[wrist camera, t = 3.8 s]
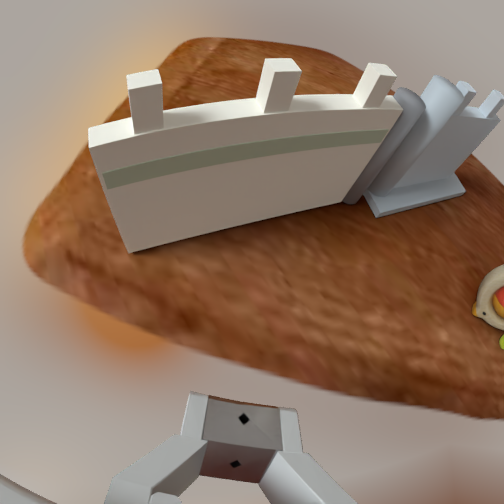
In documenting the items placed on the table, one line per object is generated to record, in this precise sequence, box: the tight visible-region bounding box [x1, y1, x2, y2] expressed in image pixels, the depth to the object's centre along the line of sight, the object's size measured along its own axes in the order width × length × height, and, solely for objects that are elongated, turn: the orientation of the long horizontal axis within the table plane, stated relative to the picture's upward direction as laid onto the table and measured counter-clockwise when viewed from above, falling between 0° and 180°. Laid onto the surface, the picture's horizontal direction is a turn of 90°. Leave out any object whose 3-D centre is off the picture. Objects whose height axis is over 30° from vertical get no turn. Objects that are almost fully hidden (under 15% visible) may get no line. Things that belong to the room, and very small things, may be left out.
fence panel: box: [88, 58, 426, 253], centre depth 17 cm, size 18×2×12 cm, turn 110°
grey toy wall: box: [363, 75, 504, 218], centre depth 22 cm, size 13×5×12 cm, turn 110°
